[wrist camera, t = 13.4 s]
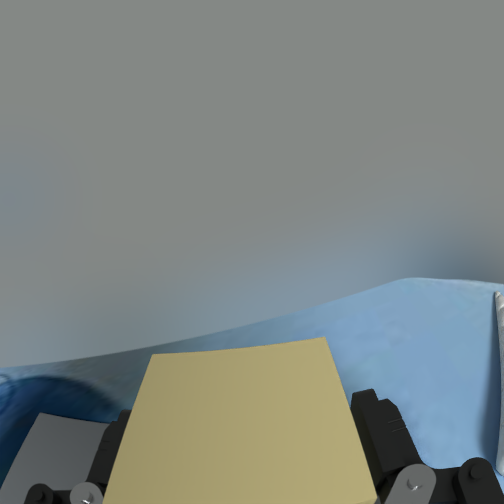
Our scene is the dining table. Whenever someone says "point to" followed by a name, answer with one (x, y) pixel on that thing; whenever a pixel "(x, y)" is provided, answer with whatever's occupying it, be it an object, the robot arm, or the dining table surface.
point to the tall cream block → (242, 431)
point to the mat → (54, 456)
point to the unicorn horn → (503, 329)
